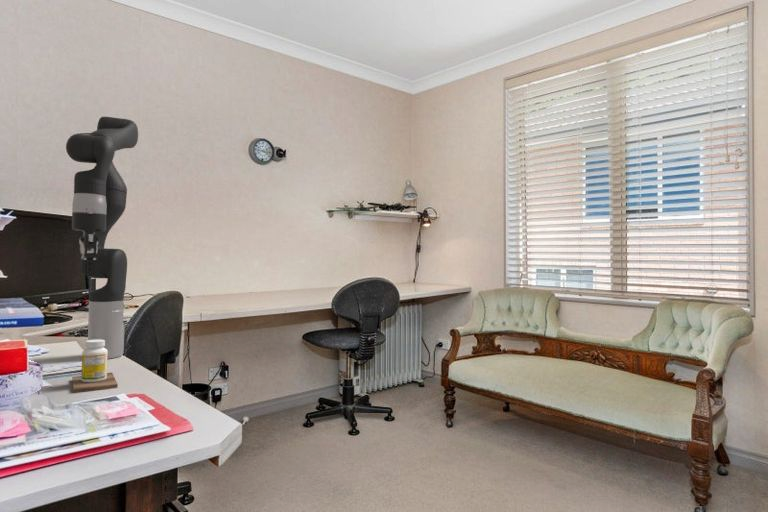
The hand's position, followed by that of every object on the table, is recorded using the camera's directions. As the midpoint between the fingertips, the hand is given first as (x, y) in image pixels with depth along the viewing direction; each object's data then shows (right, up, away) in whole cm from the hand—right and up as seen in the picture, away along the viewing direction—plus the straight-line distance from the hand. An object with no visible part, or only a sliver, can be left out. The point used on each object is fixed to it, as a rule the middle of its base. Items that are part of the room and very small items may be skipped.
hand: (87, 274), depth 121 cm
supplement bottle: (+6, -26, -7) cm, 27 cm away
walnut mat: (+6, -26, -8) cm, 28 cm away
